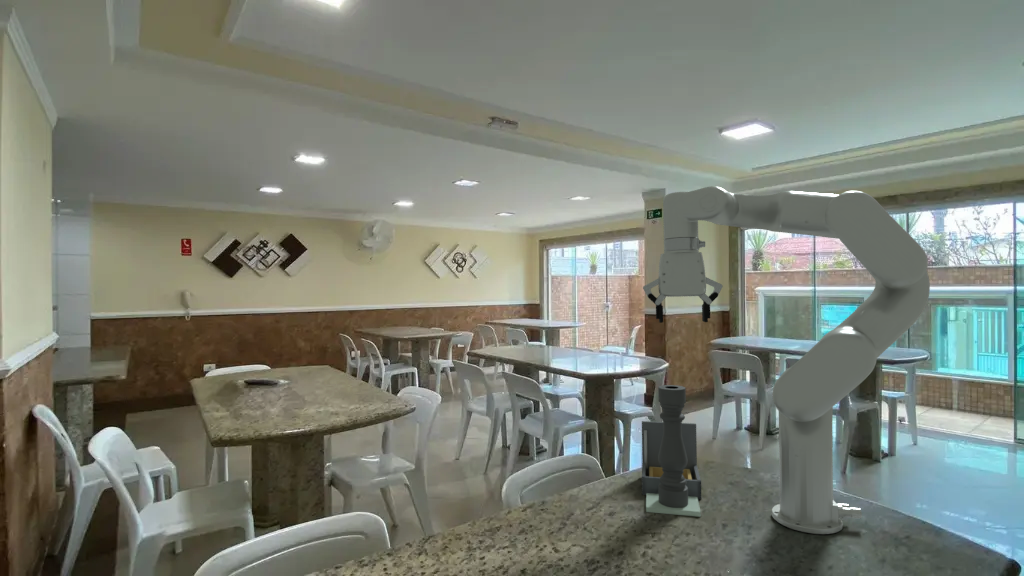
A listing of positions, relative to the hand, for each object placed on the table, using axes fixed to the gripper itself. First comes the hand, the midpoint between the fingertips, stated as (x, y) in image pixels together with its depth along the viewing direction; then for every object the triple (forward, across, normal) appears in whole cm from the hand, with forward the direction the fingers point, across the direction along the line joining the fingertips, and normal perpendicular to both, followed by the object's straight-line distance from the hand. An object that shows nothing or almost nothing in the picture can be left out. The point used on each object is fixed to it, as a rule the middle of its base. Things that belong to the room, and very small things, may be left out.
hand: (682, 322), depth 121 cm
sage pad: (+40, +4, +6) cm, 40 cm away
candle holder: (+39, +4, +6) cm, 40 cm away
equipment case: (+40, +3, -5) cm, 40 cm away
